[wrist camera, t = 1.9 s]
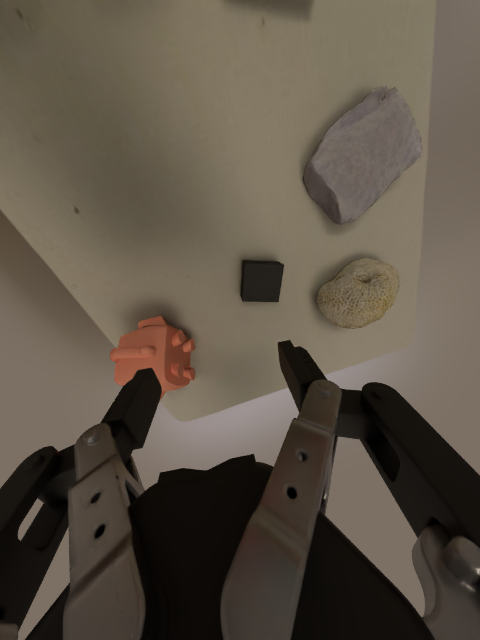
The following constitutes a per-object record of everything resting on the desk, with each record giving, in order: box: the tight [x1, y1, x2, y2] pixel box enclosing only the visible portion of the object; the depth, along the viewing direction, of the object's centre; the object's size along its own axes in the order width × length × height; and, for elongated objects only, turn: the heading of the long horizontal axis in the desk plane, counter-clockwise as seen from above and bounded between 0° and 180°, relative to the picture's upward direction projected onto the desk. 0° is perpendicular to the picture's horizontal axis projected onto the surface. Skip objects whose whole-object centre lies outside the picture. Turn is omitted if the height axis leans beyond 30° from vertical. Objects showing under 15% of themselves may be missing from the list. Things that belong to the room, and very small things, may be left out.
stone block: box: [303, 86, 422, 224], centre depth 24 cm, size 12×5×10 cm
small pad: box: [241, 260, 284, 302], centre depth 29 cm, size 6×6×3 cm
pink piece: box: [110, 316, 195, 399], centre depth 29 cm, size 12×12×10 cm
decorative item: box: [316, 258, 399, 329], centre depth 30 cm, size 12×9×10 cm
